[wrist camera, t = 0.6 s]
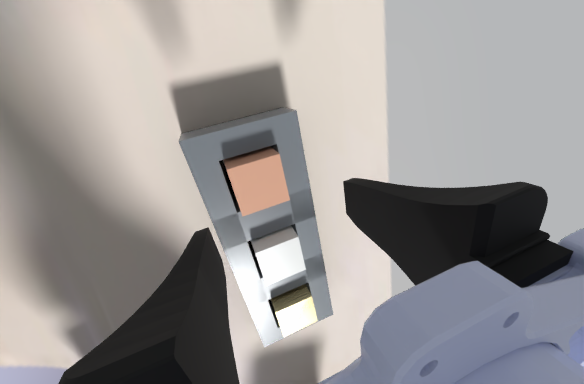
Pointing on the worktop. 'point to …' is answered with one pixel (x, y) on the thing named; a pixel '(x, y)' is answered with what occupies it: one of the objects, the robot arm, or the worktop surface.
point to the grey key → (279, 254)
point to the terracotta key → (257, 179)
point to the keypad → (240, 229)
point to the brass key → (294, 309)
